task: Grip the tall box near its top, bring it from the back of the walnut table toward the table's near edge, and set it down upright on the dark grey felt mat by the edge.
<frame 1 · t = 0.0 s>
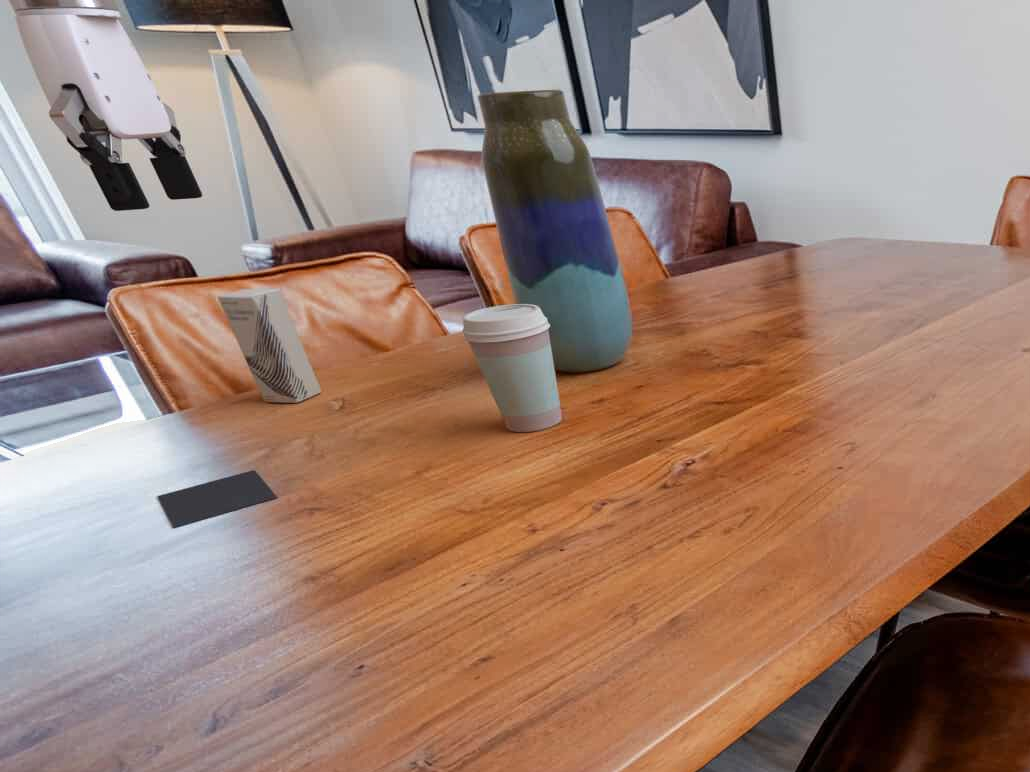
hand: (160, 203, 85), 23 cm above the table, tool pointing down, fingers open, 9 cm apart
edge mat: (217, 497, 78), on the table
coffee cup: (535, 424, 91), on the table
vase: (589, 365, 111), on the table
box: (296, 399, 104), on the table
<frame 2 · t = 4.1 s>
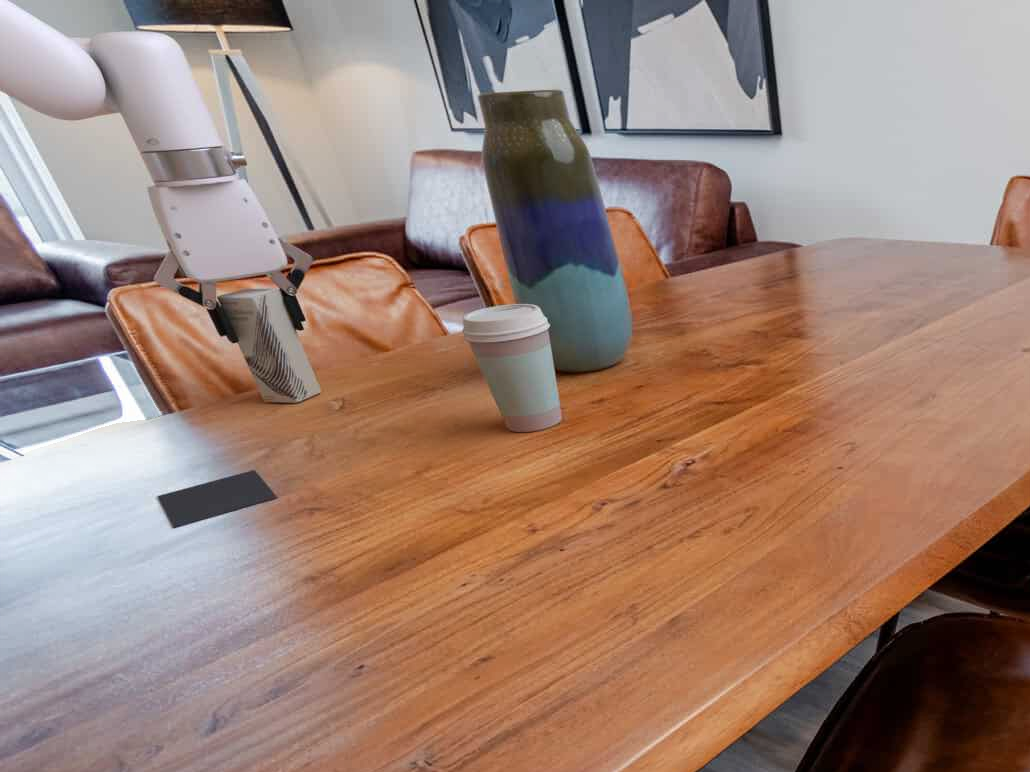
hand: (266, 333, 100), 8 cm above the table, tool pointing down, fingers closed on box, 6 cm apart
box: (296, 399, 104), on the table, touching gripper
everything else where it was.
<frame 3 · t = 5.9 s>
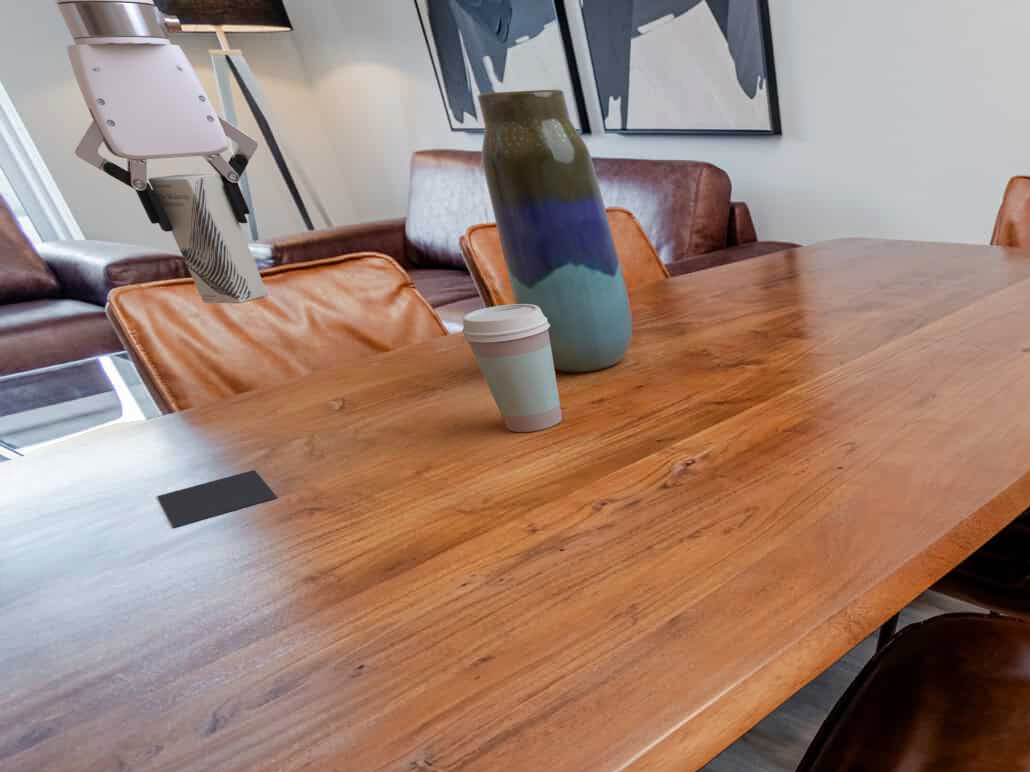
hand: (204, 224, 91), 21 cm above the table, tool pointing down, fingers closed on box, 6 cm apart
box: (239, 301, 95), point 12 cm above the table, touching gripper
everything else where it was.
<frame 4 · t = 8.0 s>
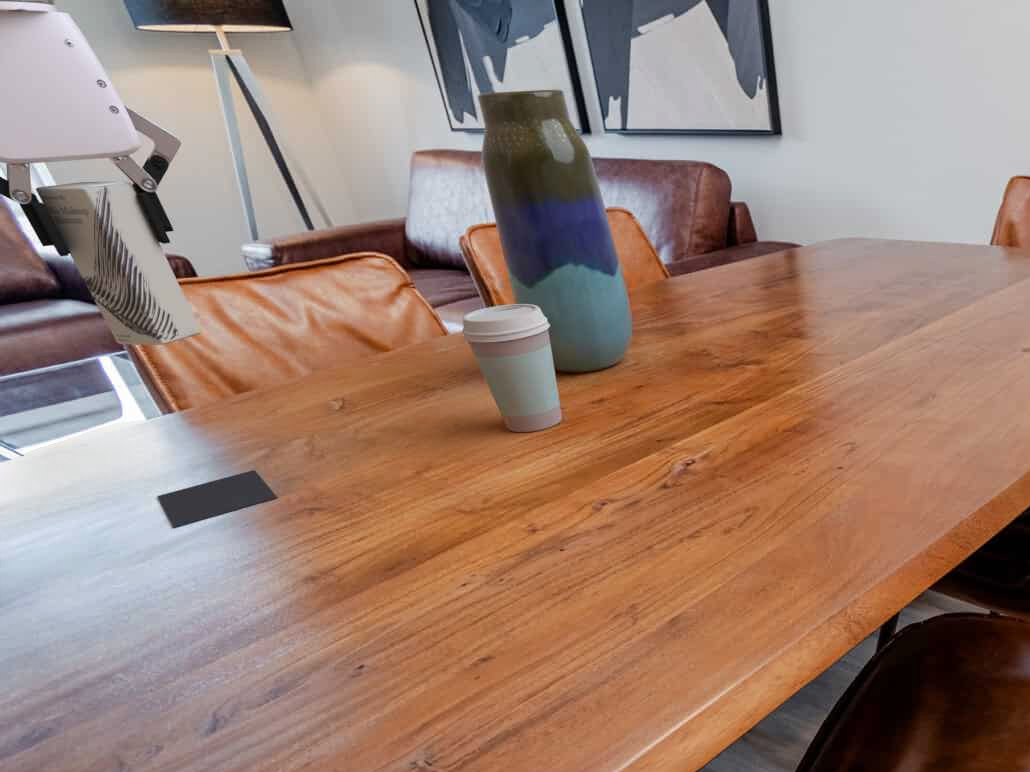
hand: (114, 246, 71), 21 cm above the table, tool pointing down, fingers closed on box, 6 cm apart
box: (164, 341, 75), point 13 cm above the table, touching gripper
everything else where it was.
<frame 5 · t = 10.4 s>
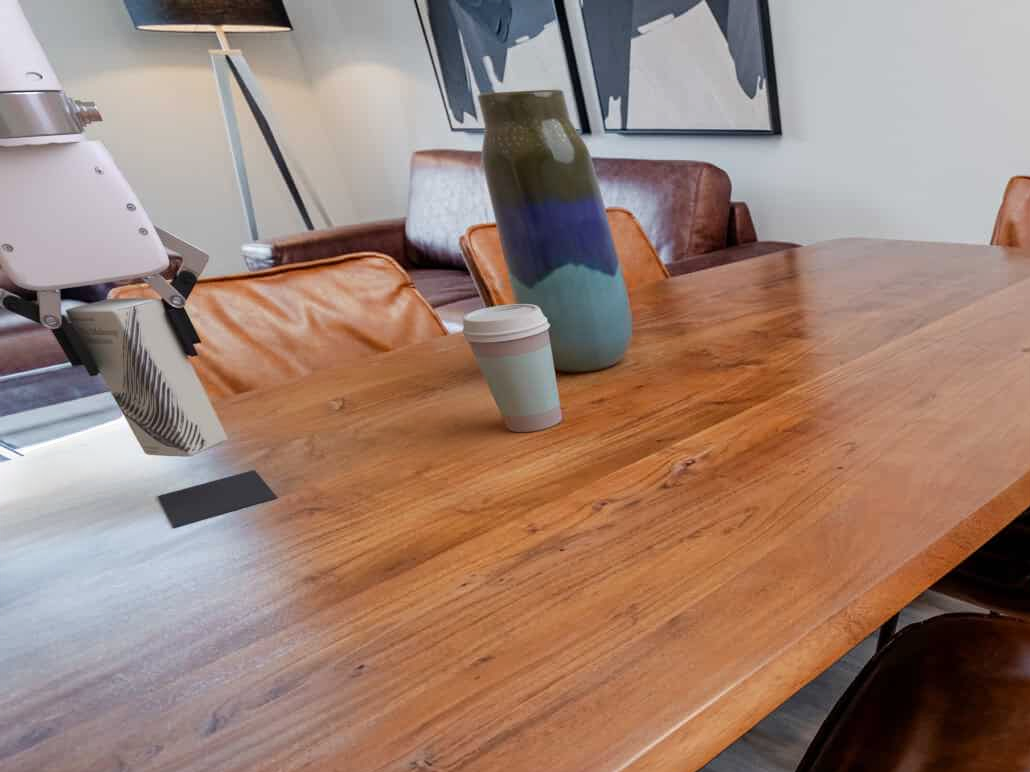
hand: (143, 361, 71), 13 cm above the table, tool pointing down, fingers closed on box, 6 cm apart
box: (191, 450, 75), point 5 cm above the table, touching gripper
everything else where it was.
when the fingers open (8 cm above the table, at t = 12.0 s): box stays where it is, resting on edge mat.
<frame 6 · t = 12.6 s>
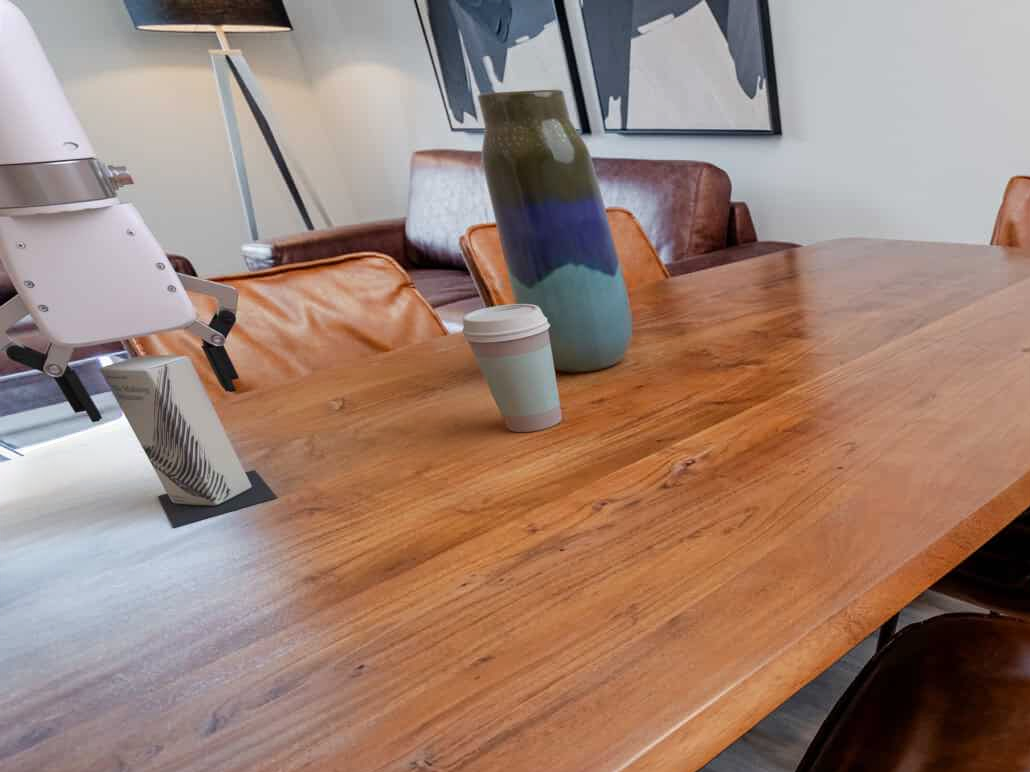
hand: (165, 403, 73), 9 cm above the table, tool pointing down, fingers open, 9 cm apart
box: (217, 498, 78), resting on edge mat
everything else where it was.
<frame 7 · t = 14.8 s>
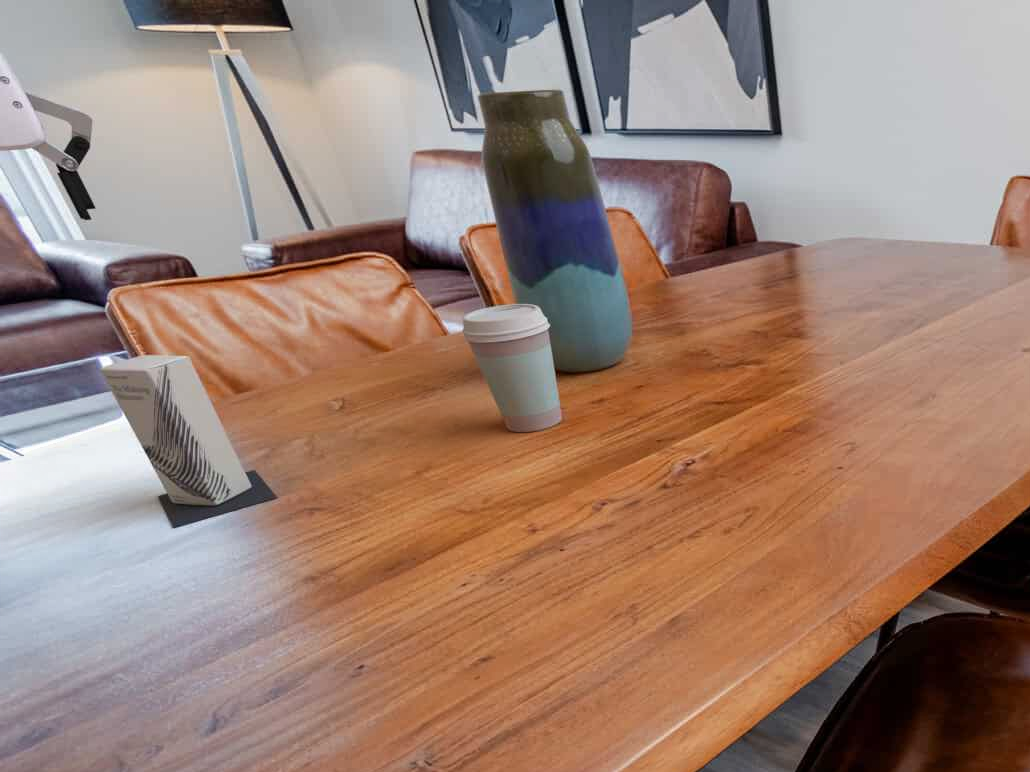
hand: (17, 225, 74), 23 cm above the table, tool pointing down, fingers open, 9 cm apart
nothing on the table moved.
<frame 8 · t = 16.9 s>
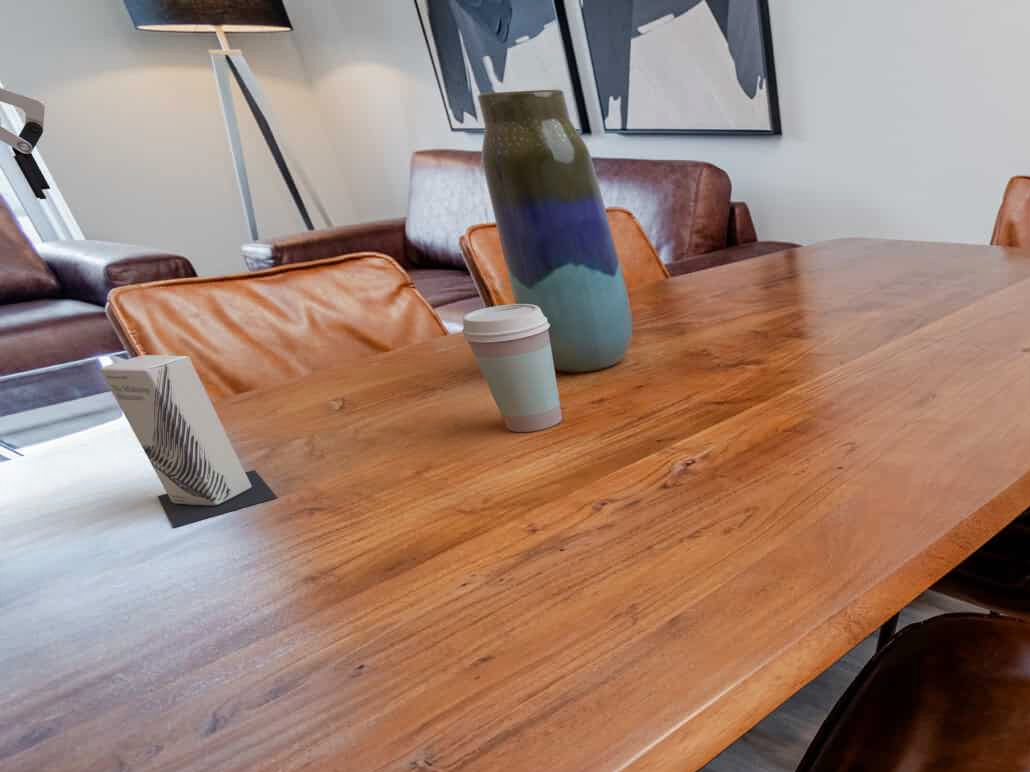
nothing on the table moved.
at the end: box inside the target area (0.1 cm from its centre), resting on edge mat; box 0.1 cm from the edge mat (horizontally); box tilted 0° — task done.
